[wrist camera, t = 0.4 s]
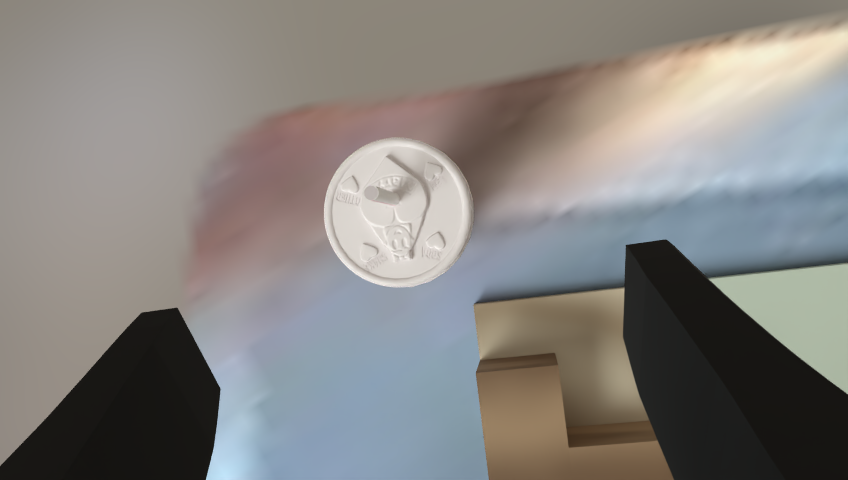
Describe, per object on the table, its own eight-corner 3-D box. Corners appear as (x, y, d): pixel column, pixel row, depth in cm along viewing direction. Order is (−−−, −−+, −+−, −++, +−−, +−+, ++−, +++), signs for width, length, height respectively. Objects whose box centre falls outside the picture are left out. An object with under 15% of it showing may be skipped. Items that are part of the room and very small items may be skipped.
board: (1040, 607, 34) (1052, 616, 33) (514, 628, 37) (514, 636, 37) (992, 246, 34) (1003, 246, 33) (474, 303, 38) (473, 304, 37)
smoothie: (475, 151, 38) (448, 102, 24) (494, 266, 37) (477, 284, 24) (363, 171, 38) (274, 135, 25) (381, 283, 38) (301, 311, 24)
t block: (720, 570, 35) (742, 607, 32) (507, 581, 37) (506, 617, 33) (691, 339, 35) (709, 350, 32) (480, 359, 37) (475, 373, 33)
